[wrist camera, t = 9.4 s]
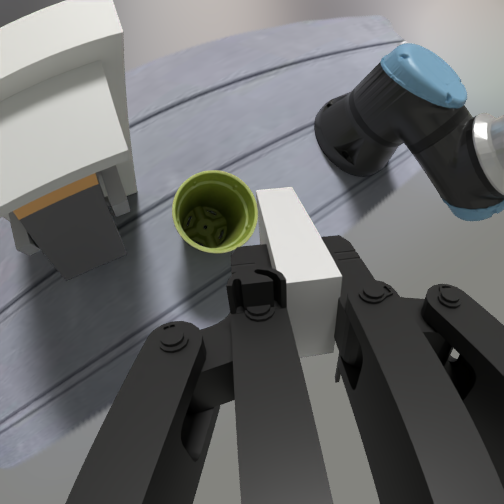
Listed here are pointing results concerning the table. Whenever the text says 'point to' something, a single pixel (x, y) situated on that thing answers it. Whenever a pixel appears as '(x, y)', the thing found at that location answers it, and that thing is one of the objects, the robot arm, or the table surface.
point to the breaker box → (63, 108)
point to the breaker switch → (74, 227)
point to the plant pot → (222, 203)
